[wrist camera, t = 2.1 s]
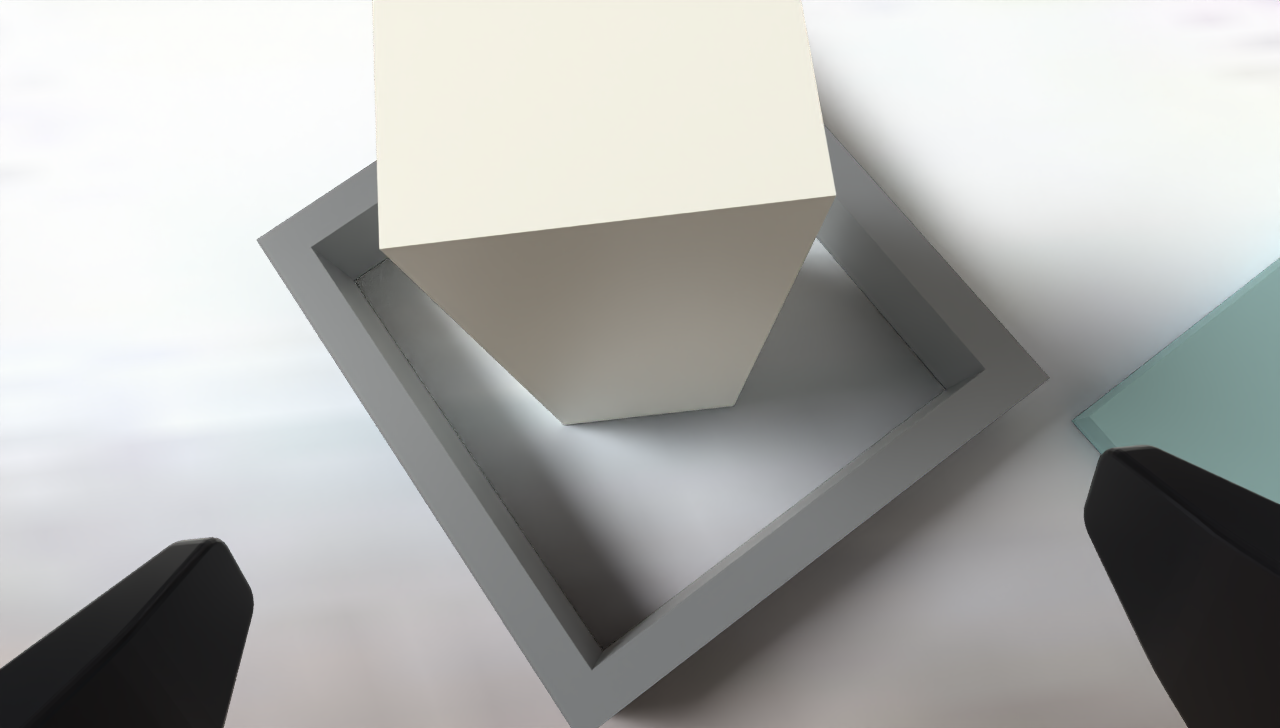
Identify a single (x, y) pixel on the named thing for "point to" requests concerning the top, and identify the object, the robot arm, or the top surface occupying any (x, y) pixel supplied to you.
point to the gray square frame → (611, 679)
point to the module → (602, 186)
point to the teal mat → (1208, 393)
